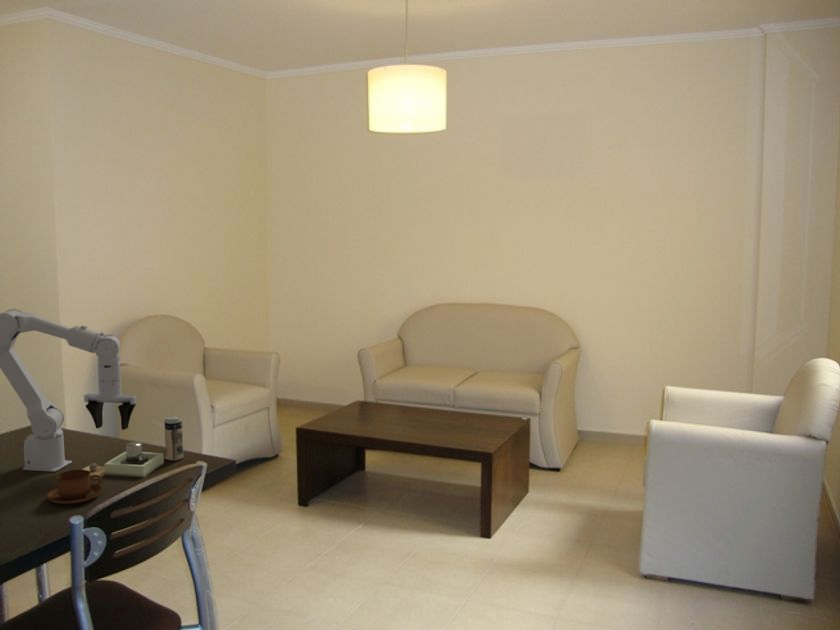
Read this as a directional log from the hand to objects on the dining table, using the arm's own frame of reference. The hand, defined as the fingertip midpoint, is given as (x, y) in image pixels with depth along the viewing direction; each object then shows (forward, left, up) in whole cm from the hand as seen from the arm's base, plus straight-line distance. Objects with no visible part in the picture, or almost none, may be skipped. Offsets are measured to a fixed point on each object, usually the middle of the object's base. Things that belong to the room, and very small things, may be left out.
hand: (112, 428), depth 208 cm
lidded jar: (+15, +6, -10) cm, 19 cm away
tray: (+9, -4, -10) cm, 14 cm away
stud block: (0, -9, -10) cm, 13 cm away
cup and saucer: (+5, -26, -10) cm, 28 cm away
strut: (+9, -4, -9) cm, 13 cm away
